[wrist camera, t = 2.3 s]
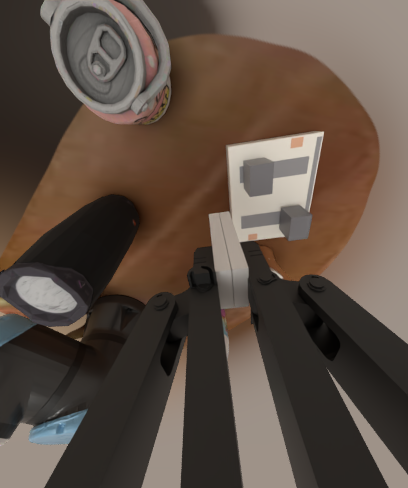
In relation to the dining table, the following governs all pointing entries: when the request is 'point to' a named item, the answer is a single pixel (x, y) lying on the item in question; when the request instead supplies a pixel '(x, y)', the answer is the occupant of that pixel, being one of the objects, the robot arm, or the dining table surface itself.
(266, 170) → the tab
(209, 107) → the dining table surface
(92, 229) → the portable speaker
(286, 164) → the switch panel
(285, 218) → the tab
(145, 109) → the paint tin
